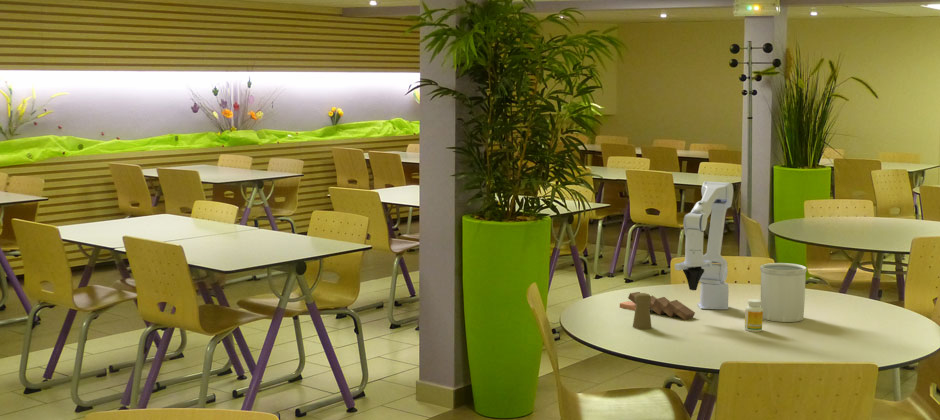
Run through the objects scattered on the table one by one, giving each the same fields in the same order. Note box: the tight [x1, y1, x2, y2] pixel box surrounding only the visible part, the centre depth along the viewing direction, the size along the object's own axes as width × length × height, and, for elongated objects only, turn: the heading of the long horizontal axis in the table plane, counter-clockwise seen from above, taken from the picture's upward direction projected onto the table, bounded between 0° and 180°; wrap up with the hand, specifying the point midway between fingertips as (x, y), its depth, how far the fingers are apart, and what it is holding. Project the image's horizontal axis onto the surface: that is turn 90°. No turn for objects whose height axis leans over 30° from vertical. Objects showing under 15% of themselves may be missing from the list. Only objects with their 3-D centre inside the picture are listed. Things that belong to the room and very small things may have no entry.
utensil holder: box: [759, 262, 808, 323], centre depth 331 cm, size 15×15×18 cm
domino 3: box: [649, 295, 665, 316], centre depth 339 cm, size 2×5×8 cm
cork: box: [632, 292, 652, 330], centre depth 318 cm, size 6×6×11 cm
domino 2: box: [627, 291, 652, 311], centre depth 343 cm, size 2×5×8 cm
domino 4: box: [654, 296, 678, 318], centre depth 335 cm, size 2×5×8 cm
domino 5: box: [666, 299, 696, 321], centre depth 332 cm, size 2×5×8 cm
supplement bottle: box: [744, 298, 763, 333], centre depth 314 cm, size 5×5×10 cm
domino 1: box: [619, 300, 636, 311], centre depth 345 cm, size 2×5×8 cm
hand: (692, 289), depth 328 cm, fingers closed
